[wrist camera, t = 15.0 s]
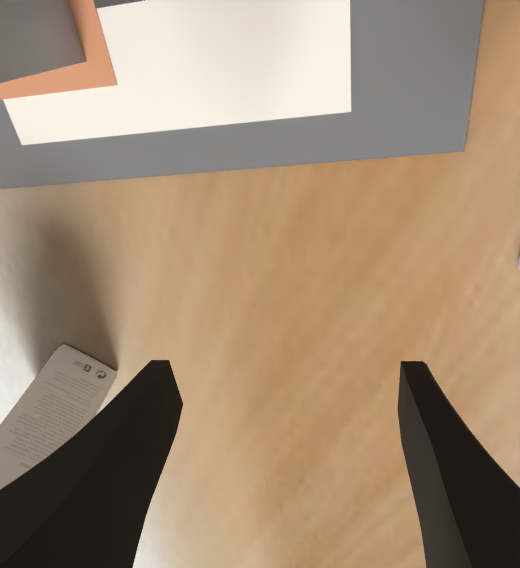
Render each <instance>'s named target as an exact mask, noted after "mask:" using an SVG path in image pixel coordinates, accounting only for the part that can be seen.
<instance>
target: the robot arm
mask: <svg viewBox="0 0 520 568" xmlns="http://www.w3.org/2000/svg"><path fill="white" fill-rule="evenodd" d="M518 268H519V270H520V257H519V261H518ZM182 406H183V402H182V399H181V396H180V393H179V390H178V387H177V384H176V381H175V378H174V375H173V371H172V368H171V365H170V362H169V360H151V361H150V362H149V363H148V364H147V365H146V366H145V367H144V368H143V369H142V370H141V371H140V372H139V373H138V374H137V375H136V376H135V377H134V378H133V379H132V380H131V381H130V382H129V384H128V385H127V386H126V387H125V388H124V389H123V390H122V391H121V392H120V393H119V394H118V395H117V396H116V397H115V398H114V399H113V400H112V401H111V402H110V403H109V404H108V405H107V406H106V407H105V408H104V409H102V410H101V411H100V412H99V413H98V414H97V415H96V416H95V417H94V418H93V419H92V420H91V421H89V422H88V423H87V424H86V425H85V426H84V427H83V428H82V429H81V430H80V431H79V432H77V433H76V434H75V435H74V436H73V437H71V438H70V439H69V440H68V441H67V442H65V443H64V444H63V445H62V446H60V447H59V448H58V449H57V450H55V451H54V452H53V453H52V454H50V455H49V456H48V457H46V458H45V459H44V460H42V461H41V462H40V463H38V464H37V465H35V466H34V467H32V468H31V469H30V470H28V471H27V472H25V473H24V474H22V475H21V476H20V477H18V478H17V479H15V480H14V481H12V482H11V483H9V484H8V485H6V486H5V487H3V488H2V489H0V568H132V567H133V563H134V559H135V555H136V551H137V547H138V543H139V540H140V536H141V532H142V529H143V525H144V521H145V518H146V514H147V511H148V508H149V505H150V502H151V499H152V496H153V494H154V491H155V488H156V486H157V483H158V481H159V478H160V475H161V473H162V470H163V467H164V465H165V462H166V460H167V457H168V454H169V451H170V449H171V446H172V443H173V441H174V438H175V435H176V432H177V428H178V424H179V420H180V415H181V411H182ZM398 417H399V425H400V434H401V442H402V447H403V451H404V455H405V460H406V464H407V469H408V473H409V477H410V482H411V486H412V490H413V495H414V499H415V503H416V508H417V512H418V516H419V521H420V526H421V532H422V538H423V545H424V552H425V559H426V567H427V568H520V488H519V486H518V485H517V484H516V483H515V482H514V481H513V480H512V479H511V478H510V477H509V476H508V475H507V474H506V473H505V472H504V471H503V469H502V468H501V467H500V466H499V465H498V464H497V463H496V462H495V460H494V459H493V458H492V457H491V456H490V455H489V453H488V452H487V451H486V450H485V449H484V447H483V446H482V445H481V444H480V442H479V441H478V440H477V439H476V438H475V436H474V435H473V434H472V432H471V431H470V430H469V429H468V427H467V426H466V425H465V423H464V422H463V420H462V419H461V418H460V416H459V415H458V414H457V412H456V411H455V409H454V408H453V407H452V405H451V404H450V402H449V401H448V399H447V398H446V396H445V395H444V393H443V392H442V390H441V389H440V387H439V385H438V384H437V382H436V380H435V379H434V377H433V375H432V374H431V372H430V370H429V368H428V366H427V364H425V363H424V362H423V361H401V368H400V383H399V397H398Z"/></svg>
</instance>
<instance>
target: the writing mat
mask: <svg viewBox="0 0 520 568" xmlns="http://www.w3.org/2000/svg"><path fill="white" fill-rule="evenodd" d="M68 1H69V4H70V7H71V11H72V14H73V17H74V21H75V24H76V27H77V31H78V34H79V37H80V41H81V44H82V48H83V51H84V54H85V58H86V61H87V62H83V63H79V64H75V65H71V66H67V67H63V68H59V69H55V70H51V71H47V72H43V73H39V74H35V75H31V76H27V77H23V78H19V79H15V80H11V81H7V82H3V83H0V189H5V188H18V187H30V186H43V185H55V184H67V183H80V182H92V181H104V180H117V179H129V178H142V177H154V176H166V175H179V174H191V173H204V172H216V171H228V170H241V169H253V168H266V167H278V166H290V165H303V164H315V163H327V162H340V161H352V160H365V159H377V158H389V157H402V156H414V155H427V154H439V153H451V152H464V151H465V144H466V136H467V128H468V121H469V113H470V105H471V98H472V90H473V82H474V75H475V67H476V60H477V52H478V44H479V37H480V29H481V21H482V14H483V6H484V0H68Z"/></svg>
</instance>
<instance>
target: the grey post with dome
mask: <svg viewBox="0 0 520 568" xmlns="http://www.w3.org/2000/svg"><path fill="white" fill-rule="evenodd" d="M83 62H87V61H86V58H85V54H84V51H83V48H82V44H81V41H80V37H79V34H78V31H77V27H76V24H75V21H74V17H73V14H72V11H71V7H70V4H69V1H68V0H0V83H3V82H7V81H11V80H15V79H19V78H23V77H27V76H31V75H35V74H39V73H43V72H47V71H51V70H55V69H59V68H63V67H67V66H71V65H75V64H79V63H83Z"/></svg>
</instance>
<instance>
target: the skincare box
mask: <svg viewBox="0 0 520 568" xmlns="http://www.w3.org/2000/svg"><path fill="white" fill-rule="evenodd" d="M116 376H117V372H116V371H114V370H113V369H111V368H109V367H108V366H106V365H105V364H103V363H101V362H99V361H97V360H95V359H93V358H91V357H90V356H88V355H86V354H84V353H82V352H80V351H78V350H76V349H74V348H72V347H70V346H67V345H65V344H63V345H61V346H59V347H58V348H57V349H56V351H55V352H54V353H53V355H52V356H51V357H50V359H49V360H48V361H47V363H46V364H45V365H44V367H43V368H42V369H41V371H40V372H39V374H38V375H37V376H36V378H35V379H34V380H33V382H32V383H31V384H30V386H29V387H28V389H27V390H26V391H25V393H24V394H23V395H22V397H21V398H20V399H19V401H18V402H17V403H16V405H15V406H14V407H13V409H12V410H11V411H10V413H9V414H8V415H7V417H6V418H5V419H4V421H3V422H2V423H1V425H0V489H2V488H3V487H5V486H6V485H8V484H9V483H11V482H12V481H14V480H15V479H17V478H18V477H20V476H21V475H22V474H24V473H25V472H27V471H28V470H30V469H31V468H32V467H34V466H35V465H37V464H38V463H40V462H41V461H42V460H44V459H45V458H46V457H48V456H49V455H50V454H52V453H53V452H54V451H55V450H57V449H58V448H59V447H60V446H62V445H63V444H64V443H65V442H67V441H68V440H69V439H70V438H71V437H73V436H74V435H75V434H76V433H77V432H79V431H80V430H81V429H82V428H83V427H84V426H85V425H86V424H87V423H88V422H89V421H91V420H92V419H93V418H94V417H95V415H96V414H97V412H98V410H99V408H100V406H101V405H102V403H103V401H104V399H105V397H106V395H107V393H108V392H109V390H110V388H111V386H112V384H113V382H114V380H115V378H116Z"/></svg>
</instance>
